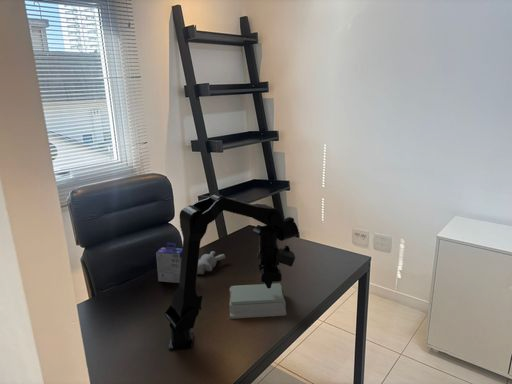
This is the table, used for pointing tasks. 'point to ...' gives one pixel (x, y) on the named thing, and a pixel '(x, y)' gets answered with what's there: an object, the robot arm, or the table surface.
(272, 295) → the duct cover
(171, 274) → the ink cartridge box
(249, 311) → the base
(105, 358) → the table surface
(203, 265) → the bunny figurine
